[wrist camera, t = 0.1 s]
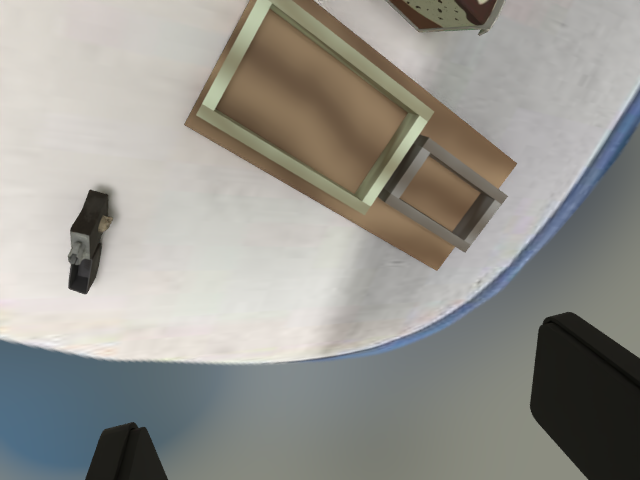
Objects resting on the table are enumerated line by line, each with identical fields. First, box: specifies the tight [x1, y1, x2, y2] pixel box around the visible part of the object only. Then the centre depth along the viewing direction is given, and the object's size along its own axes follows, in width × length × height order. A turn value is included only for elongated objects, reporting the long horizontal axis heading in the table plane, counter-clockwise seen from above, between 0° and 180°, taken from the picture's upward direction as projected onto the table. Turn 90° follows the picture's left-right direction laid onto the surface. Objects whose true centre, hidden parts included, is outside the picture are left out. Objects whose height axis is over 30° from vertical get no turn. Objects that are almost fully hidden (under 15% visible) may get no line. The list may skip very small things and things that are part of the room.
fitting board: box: [184, 0, 517, 271], centre depth 37 cm, size 14×30×4 cm, turn 57°
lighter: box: [68, 190, 113, 294], centre depth 35 cm, size 9×2×6 cm
